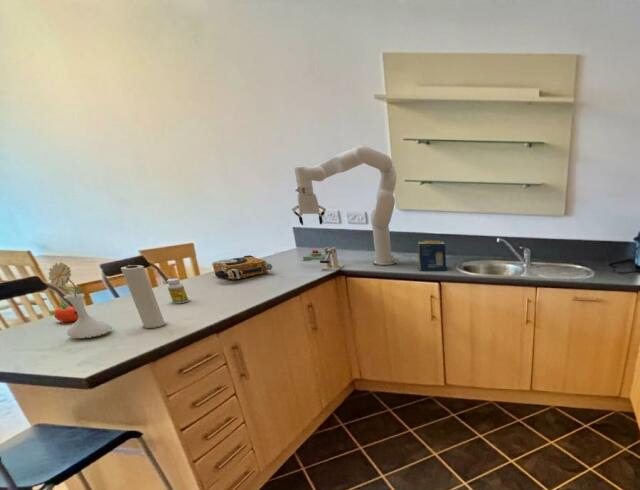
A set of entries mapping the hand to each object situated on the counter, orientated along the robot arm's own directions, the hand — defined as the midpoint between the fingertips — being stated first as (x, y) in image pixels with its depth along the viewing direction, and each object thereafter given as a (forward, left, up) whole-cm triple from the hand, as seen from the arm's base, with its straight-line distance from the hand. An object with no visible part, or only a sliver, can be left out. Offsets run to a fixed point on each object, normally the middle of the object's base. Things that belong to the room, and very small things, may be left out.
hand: (311, 224), depth 233 cm
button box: (+10, -19, -23) cm, 32 cm away
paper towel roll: (+16, +104, -24) cm, 107 cm away
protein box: (-66, -5, -24) cm, 70 cm away
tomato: (+48, +103, -24) cm, 116 cm away
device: (+28, +30, -24) cm, 47 cm away
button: (+10, -19, -20) cm, 29 cm away
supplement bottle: (+27, +76, -24) cm, 84 cm away
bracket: (-10, +5, -23) cm, 26 cm away
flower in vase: (+28, +116, -24) cm, 121 cm away
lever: (-10, +8, -16) cm, 21 cm away
